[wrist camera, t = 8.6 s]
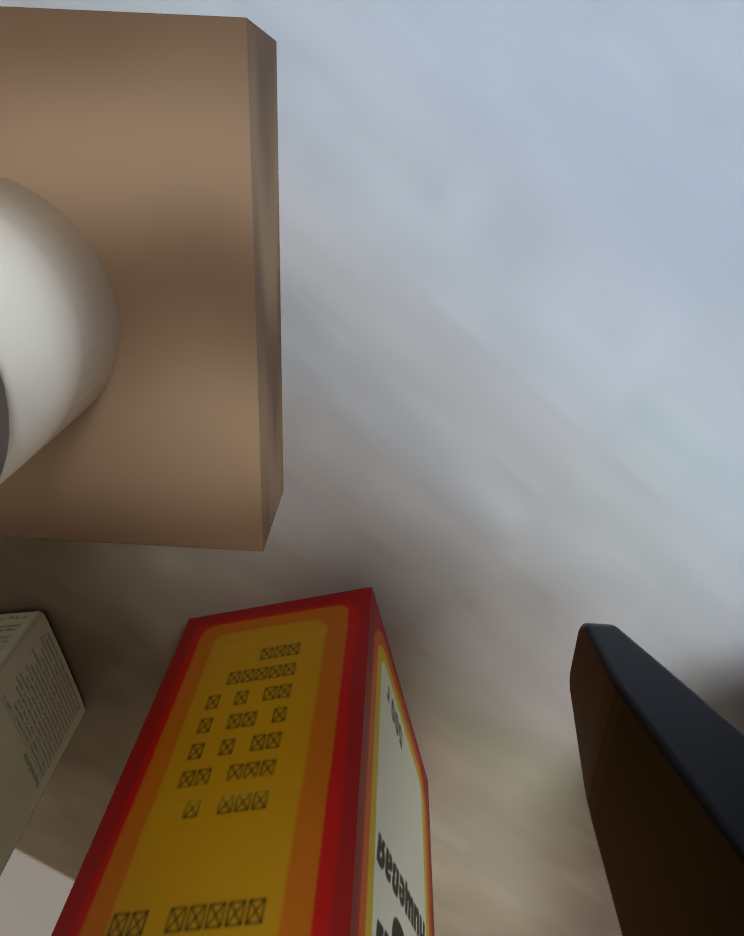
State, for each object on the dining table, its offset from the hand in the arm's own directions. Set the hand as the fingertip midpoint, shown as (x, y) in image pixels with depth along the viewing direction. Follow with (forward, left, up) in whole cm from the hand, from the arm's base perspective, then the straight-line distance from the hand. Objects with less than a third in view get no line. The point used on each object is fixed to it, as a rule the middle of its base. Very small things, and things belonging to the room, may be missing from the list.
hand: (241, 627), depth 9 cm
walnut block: (+2, +7, -12) cm, 14 cm away
